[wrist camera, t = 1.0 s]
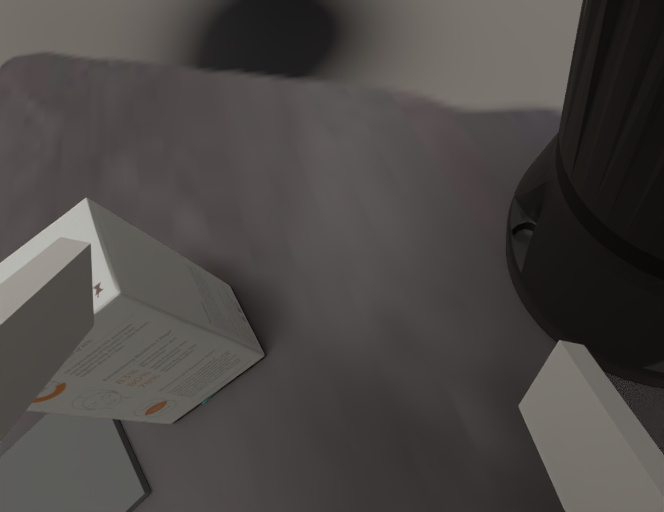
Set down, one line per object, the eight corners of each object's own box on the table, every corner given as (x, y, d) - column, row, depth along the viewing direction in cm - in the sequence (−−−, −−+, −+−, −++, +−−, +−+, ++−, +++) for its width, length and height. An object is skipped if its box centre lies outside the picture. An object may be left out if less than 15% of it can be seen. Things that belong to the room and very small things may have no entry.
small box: (231, 284, 32) (87, 191, 21) (268, 356, 29) (121, 293, 17) (142, 349, 32) (-47, 292, 21) (169, 427, 29) (-38, 410, 18)
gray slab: (97, 373, 33) (91, 372, 32) (151, 492, 28) (144, 493, 27) (-4, 468, 32) (-12, 468, 32) (31, 606, 27) (22, 609, 27)
